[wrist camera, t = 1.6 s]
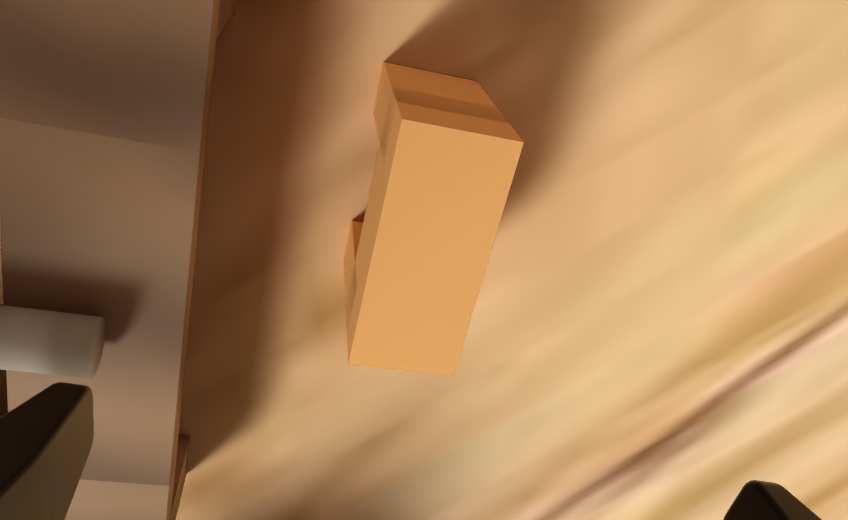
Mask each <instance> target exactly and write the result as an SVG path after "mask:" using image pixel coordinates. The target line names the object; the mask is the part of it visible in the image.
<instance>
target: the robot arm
mask: <svg viewBox="0 0 848 520" xmlns="http://www.w3.org/2000/svg"><path fill="white" fill-rule="evenodd" d="M93 437H94V415H93V393H92V390H91V388H90V387H88V386H86V385H79V384H72V383H65V382H57V383H54V384H52V385H50V386H49V387H47V388H46V389H44V390H43V391H41V392H39V393H38V394H36V395H35V396H33V397H32V398H30V399H28V400H27V401H25V402H24V403H22V404H21V405H19V406H18V407H16V408H14V409H13V410H11V411H10V412H8V413H7V414H5V415H3V416H2V417H0V520H65V517H66V515H67V512H68V509H69V507H70V504H71V501H72V499H73V496H74V493H75V491H76V488H77V486H78V483H79V480H80V478H81V475H82V472H83V470H84V467H85V464H86V462H87V459H88V456H89V454H90V451H91V447H92V443H93ZM724 520H821V519H820V518H819V517H818V516H817V515H816V514H814V513H813V512H812V511H811V510H810V509H808V508H807V507H806V506H805V505H804V504H803V503H801V502H800V501H799V500H798V499H797V498H796V497H794V496H793V495H792V494H791V493H790V492H788V491H787V490H786V489H785V488H784V487H782V486H781V485H779V484H776V483H771V482H764V481H757V480H752V481H749V482H748V483H746V484H745V485H744V486H743V488H742V490H741V491H740V493H739V494H738V496H737V497H736V499H735V501H734V502H733V504H732V505H731V507H730V508H729V510H728V512H727V513H726V515H725V517H724Z"/></svg>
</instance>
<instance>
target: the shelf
mask: <svg viewBox="0 0 848 520" xmlns="http://www.w3.org/2000/svg"><path fill="white" fill-rule="evenodd" d="M235 4H236V0H0V228H1V252H2V277H3V301H4V305H0V369H1V370H6V375H7V400H8V412H10V411H11V410H13V409H14V408H16V407H18V406H19V405H21V404H22V403H24V402H25V401H27V400H28V399H30V398H32V397H33V396H35V395H36V394H38V393H39V392H41V391H43V390H44V389H46V388H47V387H49V386H50V385H52V384H54V383H57V382H65V383H72V384H79V385H86V386H88V387H90V388H91V390H92V393H93V415H94V437H93V443H92V447H91V451H90V454H89V456H88V459H87V462H86V464H85V467H84V470H83V472H82V475H81V478H80V480H79V483H78V486H77V488H76V491H75V493H74V496H73V499H72V501H71V504H70V507H69V509H68V512H67V515H66V517H65V520H175V519H176V515H177V511H178V507H179V502H180V498H181V494H182V490H183V486H184V482H185V477H186V471H187V461H188V452H189V442H190V437H186V436H178V435H179V425H180V415H181V404H182V394H183V383H184V373H185V362H186V352H187V341H188V331H189V320H190V310H191V299H192V289H193V278H194V268H195V258H196V247H197V237H198V226H199V216H200V205H201V195H202V184H203V174H204V163H205V153H206V142H207V132H208V121H209V111H210V101H211V90H212V80H213V69H214V59H215V48H216V38H217V37H218V35H219V34H220V33H221V31H222V30H223V28H224V27H225V26H226V24H227V23H228V22H229V20H230V19H231V17H232V16H233V15H234V13H235Z"/></svg>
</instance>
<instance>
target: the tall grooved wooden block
mask: <svg viewBox="0 0 848 520" xmlns="http://www.w3.org/2000/svg"><path fill="white" fill-rule="evenodd" d="M374 117H375V122H376V127H377V132H378V136H379V141H380V144H379V149H378V154H377V159H376V164H375V168H374V173H373V178H372V183H371V188H370V192H369V197H368V202H367V207H366V212H365V216H364V221H363V222H358V221H352V222H351V227H350V232H349V237H348V242H347V247H346V252H345V257H344V281H345V303H346V325H347V347H348V364H349V365H358V366H367V367H376V368H385V369H393V370H402V371H411V372H420V373H429V374H437V375H446V376H454V372H455V369H456V366H457V362H458V359H459V356H460V352H461V349H462V346H463V342H464V339H465V336H466V332H467V329H468V326H469V323H470V319H471V316H472V313H473V309H474V306H475V303H476V299H477V296H478V293H479V289H480V286H481V283H482V280H483V276H484V273H485V270H486V266H487V263H488V260H489V256H490V253H491V250H492V246H493V243H494V240H495V236H496V233H497V230H498V227H499V223H500V220H501V217H502V213H503V210H504V207H505V203H506V200H507V197H508V193H509V190H510V187H511V183H512V180H513V177H514V174H515V170H516V167H517V164H518V160H519V157H520V154H521V150H522V147H523V144H524V142H523V140H522V139H521V138H520V137H519V135H518V134H517V133H516V131H515V130H514V129H513V127H512V126H511V125H510V124H509V122H508V121H507V120H506V118H505V117H504V116H503V114H502V113H501V112H500V110H499V109H498V108H497V107H496V105H495V104H494V103H493V101H492V100H491V99H490V97H489V96H488V95H487V94H486V92H485V91H484V90H483V88H482V87H481V86H480V84H479V83H478V82H477V81H473V80H468V79H464V78H459V77H454V76H449V75H444V74H440V73H435V72H430V71H425V70H420V69H415V68H411V67H406V66H401V65H396V64H391V63H386V62H383V67H382V72H381V77H380V82H379V87H378V92H377V97H376V102H375V107H374Z"/></svg>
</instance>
